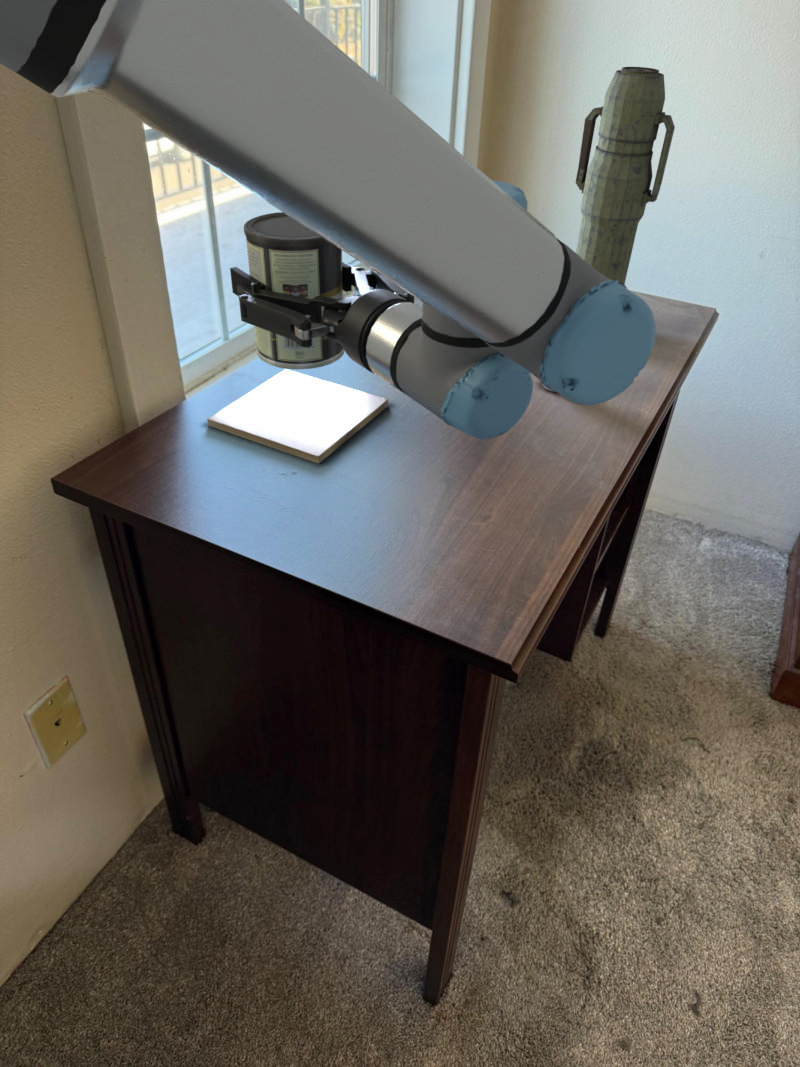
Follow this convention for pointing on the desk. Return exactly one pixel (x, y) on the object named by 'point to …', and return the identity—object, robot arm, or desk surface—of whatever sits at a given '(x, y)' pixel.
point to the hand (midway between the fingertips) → (277, 271)
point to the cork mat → (299, 415)
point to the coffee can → (293, 283)
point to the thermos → (621, 168)
